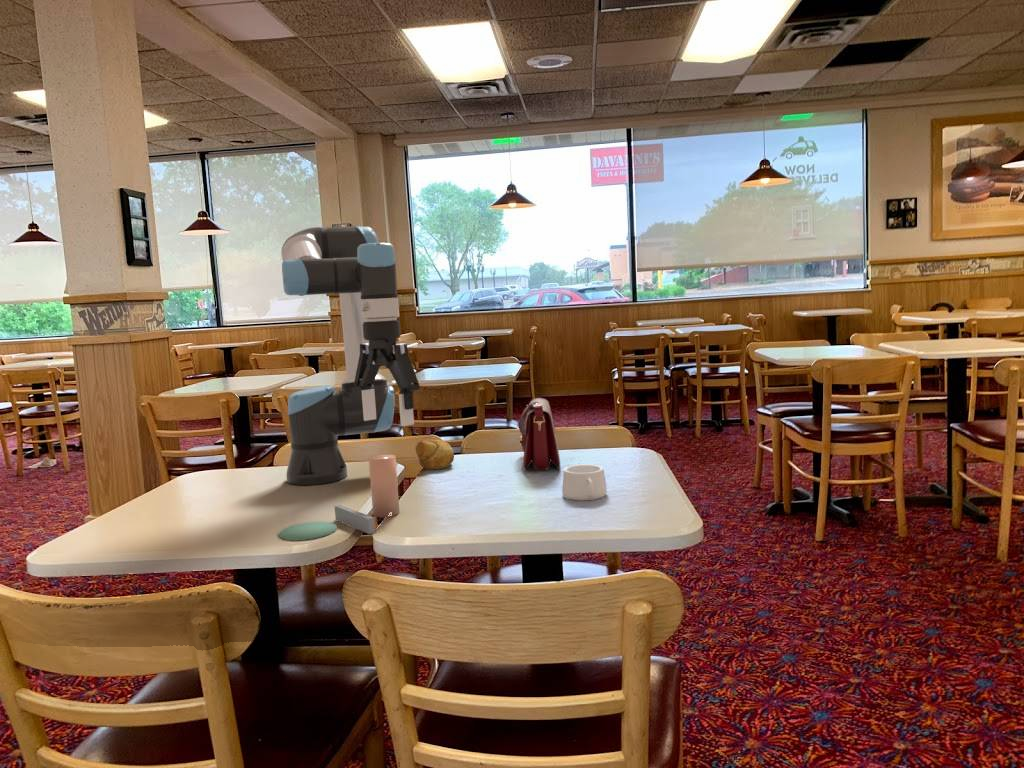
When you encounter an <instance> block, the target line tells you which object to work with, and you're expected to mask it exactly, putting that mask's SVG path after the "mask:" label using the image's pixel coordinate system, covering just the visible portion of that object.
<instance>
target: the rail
mask: <svg viewBox="0 0 1024 768" xmlns="http://www.w3.org/2000/svg"><path fill="white" fill-rule="evenodd" d="M334 517H335V518H334V519H335V521H336V520H338V521H337V522H339V521H340V522H339V523H341V522H343V523H342V524H344V523H345V524H344V525H346V524H348V525H350V526H349V527H351V526H352V527H351V528H353V529H355V530H358V531H361V532H363V533H366V534H368V535H372V534H375V533H376V530H375V529H376V528H375V518H374V517H375V516H371V515H368V514H365V513H363V512H360V511H358V510H355V509H352V508H349V507H347V506H344V505H342V504H337V505H334ZM348 525H347V526H348Z"/></svg>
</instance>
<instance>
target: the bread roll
mask: <svg viewBox="0 0 1024 768" xmlns="http://www.w3.org/2000/svg"><path fill="white" fill-rule="evenodd" d="M415 452H416V456H417V458H418V461H419V464H420V466H421V467H422V469H423V468H424V469H425V470H440V469H446V468H448V467H449V466H450V465H451V464H452V463H453V462H454V459H455V453H454V451H453V448H452V446H451V445H450V444H449V443H448V442H446V441H445V440H442V439H439V438H437V439H430V440H428V441H426V440H420V441H418V442H417V444H415Z"/></svg>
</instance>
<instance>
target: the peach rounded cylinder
mask: <svg viewBox="0 0 1024 768" xmlns="http://www.w3.org/2000/svg"><path fill="white" fill-rule="evenodd" d="M396 458H397V457H396V455H395V454H378V455H372V456H370V457H369V458H368V466H369V478H370V479H369V480H370V491H371V492H370V494H371V505H372V517H375V518H388V517H387V516H388V515H389V513H390V512H392V516H391V517H395V516H398V515H399V514H400V500H399V487H398V473H397V472H398V471H397V459H396ZM390 515H391V514H390Z"/></svg>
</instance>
